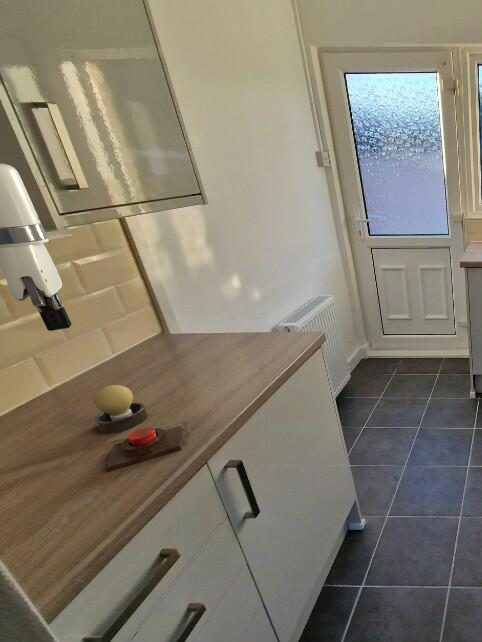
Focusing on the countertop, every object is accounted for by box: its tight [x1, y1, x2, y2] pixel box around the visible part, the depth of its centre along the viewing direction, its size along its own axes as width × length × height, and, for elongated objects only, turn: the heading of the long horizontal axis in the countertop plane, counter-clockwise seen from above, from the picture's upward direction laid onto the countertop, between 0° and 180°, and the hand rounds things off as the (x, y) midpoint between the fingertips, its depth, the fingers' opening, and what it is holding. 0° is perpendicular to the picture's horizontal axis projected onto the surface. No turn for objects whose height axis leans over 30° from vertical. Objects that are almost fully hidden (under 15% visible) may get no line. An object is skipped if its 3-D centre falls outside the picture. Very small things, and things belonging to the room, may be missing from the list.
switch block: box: [105, 425, 184, 473], centre depth 89 cm, size 12×9×3 cm
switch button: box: [127, 426, 157, 446], centre depth 89 cm, size 4×4×2 cm
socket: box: [94, 401, 149, 434], centre depth 97 cm, size 9×9×4 cm
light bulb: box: [93, 384, 134, 421], centre depth 96 cm, size 6×6×10 cm
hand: (60, 328), depth 83 cm, fingers closed
